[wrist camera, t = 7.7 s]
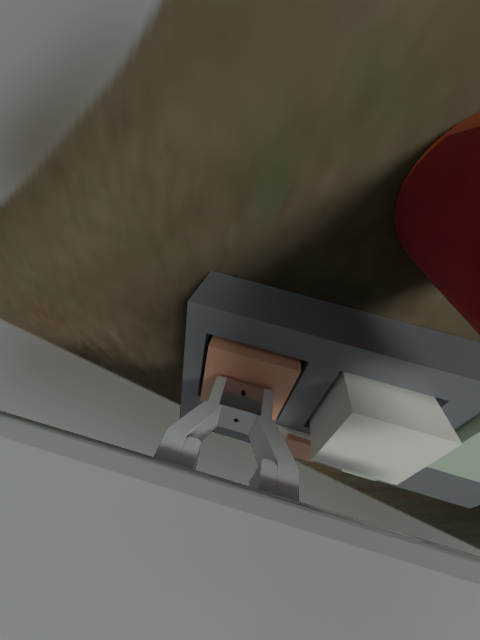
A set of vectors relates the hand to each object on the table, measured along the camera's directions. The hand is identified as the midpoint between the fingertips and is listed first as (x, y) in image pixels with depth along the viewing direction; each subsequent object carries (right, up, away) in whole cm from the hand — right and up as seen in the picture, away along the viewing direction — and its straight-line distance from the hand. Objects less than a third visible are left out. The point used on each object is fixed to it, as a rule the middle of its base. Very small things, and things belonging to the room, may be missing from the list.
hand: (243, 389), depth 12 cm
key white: (+7, -1, 0) cm, 7 cm away
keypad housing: (+7, 0, +3) cm, 8 cm away
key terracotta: (+1, +1, +2) cm, 2 cm away
